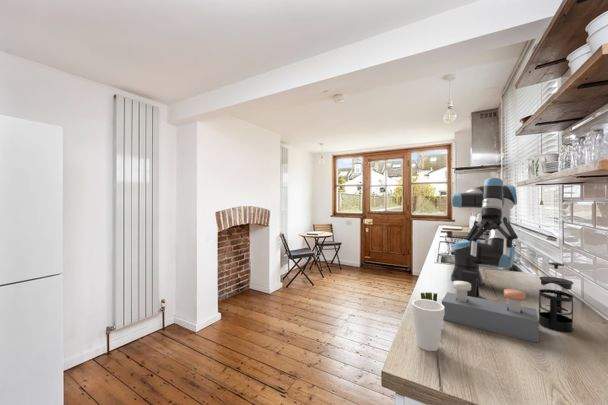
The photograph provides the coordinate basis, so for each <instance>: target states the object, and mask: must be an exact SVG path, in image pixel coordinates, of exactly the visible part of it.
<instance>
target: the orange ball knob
mask: <svg viewBox="0 0 608 405" xmlns="http://www.w3.org/2000/svg"><path fill="white" fill-rule="evenodd" d="M526 294H527V293H526V292H524V291H522V290H518V289H512V288H504V289H503V297H504V298H506V299H508V304H509V311H511V312H516V313H521V306H522V305H521V304H522V303H521V302H524V301H526V297H527V295H526Z"/></svg>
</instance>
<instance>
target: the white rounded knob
mask: <svg viewBox="0 0 608 405" xmlns="http://www.w3.org/2000/svg"><path fill="white" fill-rule="evenodd" d="M452 284H453V285H452V286H453V289H455V290H456V294H457V301H462V302H467V291H470V290H471V284H470V283H468V282H465V281H454V282H453V281H452Z"/></svg>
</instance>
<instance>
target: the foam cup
mask: <svg viewBox="0 0 608 405" xmlns="http://www.w3.org/2000/svg"><path fill="white" fill-rule="evenodd" d="M411 312H412V318H413V319H412V320H413V326H414V334H415V341H416V346H418V347H419V348H420V349H422V350H423V351H428V352H436V351H438V350H439V347H440V344H441V336H442V330H443V329H442V328H443V322H444V319H443V317H444V315H445V307H444V306H443V305H442V302H441V303H440V302H439V301H437V302H436V301H433V299H432V300H427V299H421V298H417V299H413V300H412V301H411Z"/></svg>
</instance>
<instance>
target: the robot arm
mask: <svg viewBox="0 0 608 405" xmlns="http://www.w3.org/2000/svg"><path fill="white" fill-rule="evenodd" d="M517 204H518V197H517V190H516V187H515V186H514V185H508V184H504V181H503V179H501V178H498V177H490V178H486V179H485V180H484V181H483V185H481V186H478V187H472V188H469V189H468V190H467V191H466V192H456V193H453V194H452V196H451V205H452V207H453V208H468V209H469V208H470V209H471V208H472V209H473V208H475V209H481V214H480V217H481V220H480V221H477V220H475V221H474V222H473V225H472V227H471V229H470V230H469V233H468V234H467V236H466V237H465V239H461V240H456V241H455V242H454V248H453V250H454V267H453V270H452V273H451V274H450V281H452V283H453V282H454V281H462V271H463V270H467V271H473V272H478V283H479V286H482V285H483V284H484V280H483V277H482V273H481V271H480V266H487V267H495V268H500V269H505V268H506V269H511V268H512V266H514V265H513V264H514V261H515V254H516V247H515V246H514V245H513V241H514V240H518V238H519V237H518V234H517V233H516V231H515V230H514V228H513V226H512V225H511V222H510V220H511V218H510V217H511V210H513V208H514V206H517ZM487 231H489V234H488V238H487V239H485V241H484V242H480V240H479V239H480V238H481V236H483V235H484V233H485V232H487Z"/></svg>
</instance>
